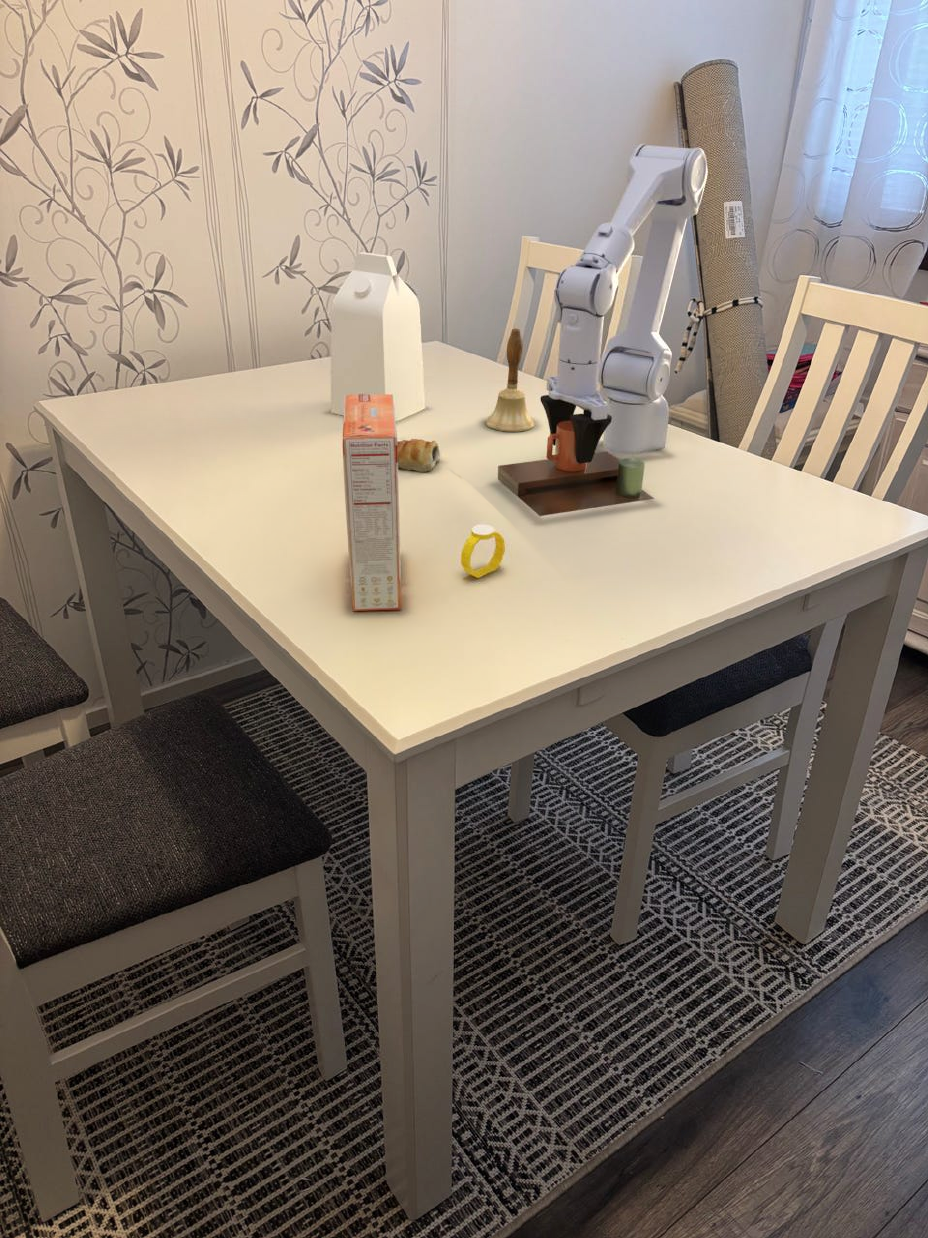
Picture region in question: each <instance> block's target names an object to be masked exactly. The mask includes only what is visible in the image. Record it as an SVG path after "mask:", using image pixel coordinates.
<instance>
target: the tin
mask: <svg viewBox="0 0 928 1238" xmlns="http://www.w3.org/2000/svg"><path fill="white" fill-rule="evenodd" d="M619 460H620V461H619V465H618V475H617V484H616V493H617V494H618V495H620V496H623V497H638V496H640V495H641V491H642V490H643V483H644V474H645V466H646V464H645V462H644V461H643V460H641V459H639V458H633V457H631V458H630V457H627V458H621V459H619Z"/></svg>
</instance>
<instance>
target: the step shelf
mask: <svg viewBox="0 0 928 1238" xmlns="http://www.w3.org/2000/svg"><path fill="white" fill-rule="evenodd" d="M620 460H621V459H619V458H617V457H616V456H614V455H613V454H611V453H610V452H609V451H600V452H595V453H594V456H593V459H592V461H591V462H588V463H587V468H586V469H585V470H582V471H576V472H570V471H563V470H560V469H558V468H556V467H555V466H554V460H553V461H550V460H548V458H546V459H539V460H532V461H531V460H530V461H524V462H515V463H509V464H502V465H501V464H500V465H498V466H497V480H498V481H499V482H500V483H501V484H503V485H504V486H505V487H506V488H507V489H508V490H509V491H511V493H512V494H514V495H515V496H516V497H517V498H519V499H520V500H521V501H522V502H523V503H524V504H526V506H528V507H529V508H530V509H531V510H532V511H533V512H534V513H535V514H537V516H539V517H542V516H550V515H557V514H562V513H571V512H575V511H582V510H583V511H584V510H589V509H595V508H596V509H597V508H601V507H608V506H615V505H621V504H628V503H634V502H640V501H641V502H642V501H647V500H654V499H655V497H653V496H652V495H650V494H649V493H648V492H646V491H645V490H643V489H642V491H641V495H640V496H638V497H623V496H620V495H618V494H617V493H616V484H617V475H618V465H619V461H620Z"/></svg>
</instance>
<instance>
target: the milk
mask: <svg viewBox="0 0 928 1238" xmlns="http://www.w3.org/2000/svg"><path fill="white" fill-rule="evenodd" d="M395 265H396V264H395V262H394V260H393V256H392V255H388V254H387V255H386V254H379V253H373V252H365V251H362V252H357V254H356V257H355V261H354V264H353V267H352V270H351V271H350V273H349V274H348V276H347V277H346V279H345V281H344V282H343V283H342V285H341V287H340V288H339V289H338V291H337V293H336V294H335V296H334V297H333V300H332V303H331V309H330V413H331V414H336V415H339V416H342V417H344V403H345V395H353V394H367V395H381V394H393V399H394V409H395V419H396V423H397V422H399V421H400V420H403V419H405V418H407V417H410V416H412V415H414V414H416V413H418V412H419V413H420V412H421V411H423V410H425V409H426V401H425V400H426V399H425V381H424V380H425V379H424V363H423V362H424V361H423V345H422V342H423V341H422V324H421V307H420V302H419V299H418V297H417V295H416V294H415V293H414V292H413V290H412V289H411V288H410V287H409V286H408V285H407V283H406V282H405V281H404V280H403V279H402V278H401V277H400V275H398V272H397V268H396V266H395Z"/></svg>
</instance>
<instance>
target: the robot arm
mask: <svg viewBox="0 0 928 1238" xmlns="http://www.w3.org/2000/svg"><path fill="white" fill-rule="evenodd" d="M707 160H708V159H707V156H706V154H705V150H704V149H702V148H700V147H694V148H692V147H691V148H690V147H677V146H676V147H675V146H661V145H649V144H647V143H640V144H639V145H637V146H636V148H635V149H634V150H633V152H632V153H631V156H630V159H629V161H628V167H627V186H626V188H625V191H624V193H623V194H622V197H621V199H620V202H619V204H618V206H617V208H616V209H615V211H614V214H613V215H612V217H611V219H610V222H604V223H602V224H600V225H599V226H598V227H597V228H596V230H595V231H594V233H593V235H592V236H591V238H590V239H589V241H588V243H587V244H586V246H585V248H584V250H583V251H582V252H581V254H580V256H579V258H578V259H577V260H576V262H575V264H574V265H570V266H568V267H567V268H564V269H562V271H561V272H560V274H559V275H558V278H557V280H556V284H555V288H554V289H553V297H554V298H553V299H554V303H555V306H556V309H557V310H556V311H557V313H556V315H557V316H556V320H557V322H558V323H559V325H560V328H559V329H560V330H559V342H558V343H559V344H558V357H557V358H558V359H557V371H556V373H557V374H556V375H554V376H553V375H551V376H547V377H546V391H548V394H544V395H540V403H541V405H542V407H543V410H544V411H545V414H546V418H547V421H548V422H547V423H548V427H549V433H550V434H555V433H556V431H557V424H558V423H560V422H563V421H571V422H572V425H573V429H574V433H575V452H576V461H577V463H579V464H581V463H588V462H591V461H592V459H593V456H594V453H596V450H597V448H598V445H599V443H600V442H602V447H603V448H604V449H606V450H608V451H610V452H613V453H617V454H622V455H623V454H624V455H636V454H641V453H645V452H649V451H654V450H661V449H665V448H666V442H667V435H668V428H669V427H668V426H669V419H670V410H669V409H670V408H669V404H668V401H667V399H666V398H665V397H664V396H663V394H664V393H665V391H666V390H667V387H668V384H669V381H670V376H671V375H670V374H671V369H670V368H671V361H672V355H673V354H672V351H671V348H669V346H668V345H667V344H666V342H665V341H664V339H662V337H661V336H660V334H659V333H660V330H661V325H662V322H663V317H664V313H665V309H666V304H667V301H668V297H669V294H670V289H671V285H672V280H673V277H674V272H675V269H676V266H677V261H678V258H679V257H678V256H679V253H680V248H681V245H682V240H683V236H684V233H685V228H686V225H687V221H688V219H689V218H692V217H694V216H695V215H697V214H698V213H699V208H700V205H701V203H702V199H703V194H704V191H705V186H706V183H707V178H708V161H707ZM648 216H649V217H650V221H651V223H650V226H649V231H648V235H647V239H646V244H645V248H644V252H643V256H642V260H641V264H640V269H639V273H638V278H637V281H636V286H635V289H634V294H633V297H632V302H631V305H630V311H629V315H628V319H627V323H626V328H625V329H623V330H621V331H620V332H618V333H617V334H616V335H614V336H612V337H611V338H609V339H608V341H607V343H606V347H605V349H604V353H603V355H601V353H602V345H603V344H602V342H603V332H604V321H605V314H607V313H608V311H609V310H610V309H611V307H612V305H613V302H614V299H615V296H616V291H617V288H618V286H619V276H620V274H621V272H622V271H623V269H624V267H625V265H626V264H627V262H628V260H629V259H630V257H631V256H632V254H633V251H634V250H635V245H636V244H635V239H634V235H635V233H636V232H637V231H638V230H639V228H640V226H641V225H642V224H643V223H644V221H645V220H646V219H647V217H648ZM628 351H636V352H641V353H645V354H650V355H651V356H649V355H645V354H640V353H634V352H628ZM598 386H599V387H600V388H601V389H602V390H603V396H605V397H607V398H606V402H605V401H604V399H603V397H602V395H601V393H600V391H599V390H598V388H599V387H598ZM577 407H578V408H580V409H581V410H582V411H583V412H582V413H575V410H576V408H577ZM550 434H549V435H550ZM602 436H603V438H602ZM601 438H602V439H603V440H602V441H601ZM555 445H556V439H553V447H554V446H555Z"/></svg>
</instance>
